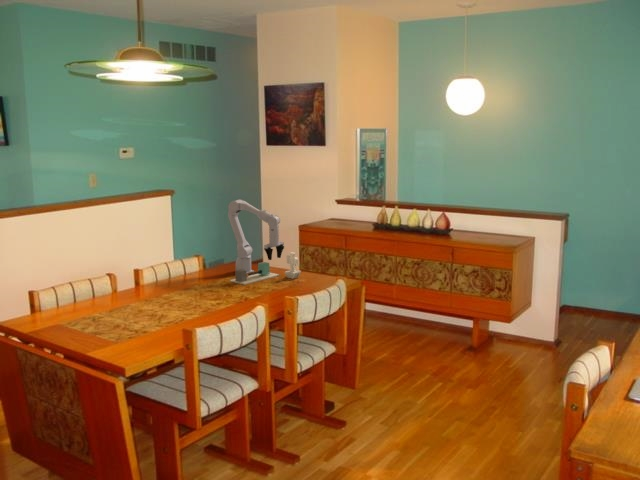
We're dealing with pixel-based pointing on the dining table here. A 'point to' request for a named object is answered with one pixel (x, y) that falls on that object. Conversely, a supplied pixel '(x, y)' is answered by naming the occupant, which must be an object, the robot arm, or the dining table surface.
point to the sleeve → (263, 268)
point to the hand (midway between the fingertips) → (274, 258)
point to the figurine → (292, 266)
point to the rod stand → (250, 277)
